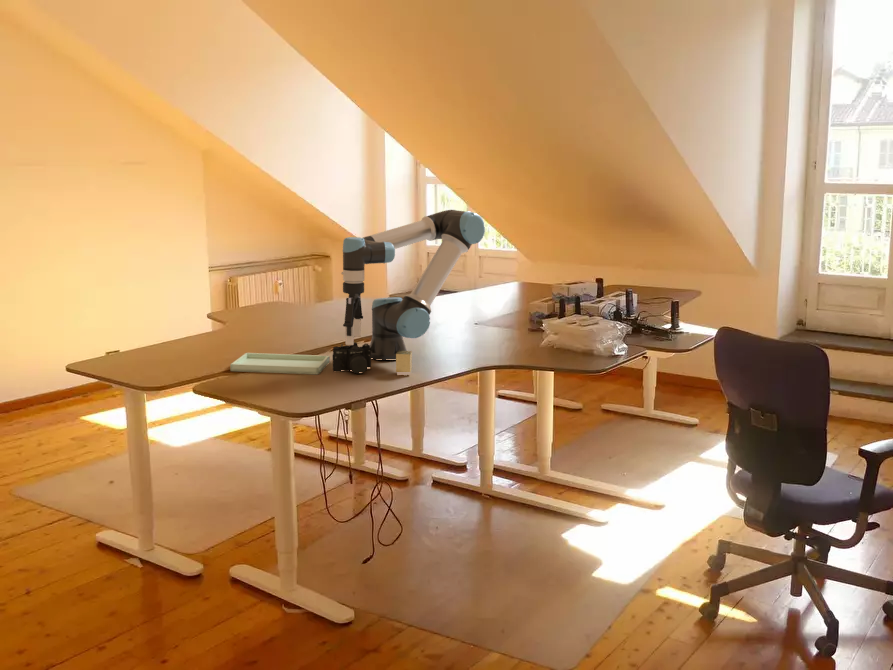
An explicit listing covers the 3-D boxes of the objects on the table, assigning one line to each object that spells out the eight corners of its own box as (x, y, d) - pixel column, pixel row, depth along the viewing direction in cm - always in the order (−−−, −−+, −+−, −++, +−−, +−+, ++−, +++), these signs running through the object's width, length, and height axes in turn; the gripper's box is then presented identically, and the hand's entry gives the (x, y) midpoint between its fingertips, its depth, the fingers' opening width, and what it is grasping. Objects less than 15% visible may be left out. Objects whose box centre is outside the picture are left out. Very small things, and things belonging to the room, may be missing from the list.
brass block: (398, 372, 318) (398, 350, 316) (411, 372, 318) (411, 351, 316) (396, 375, 313) (396, 353, 312) (410, 376, 313) (410, 354, 311)
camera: (336, 376, 311) (336, 349, 309) (331, 369, 321) (331, 342, 319) (375, 374, 315) (375, 347, 313) (369, 367, 325) (369, 340, 323)
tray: (246, 359, 334) (246, 352, 333) (329, 362, 331) (329, 355, 330) (230, 371, 316) (230, 364, 315) (318, 374, 313) (318, 367, 313)
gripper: (350, 276, 323) (349, 333, 327) (335, 286, 298) (335, 347, 303) (370, 277, 322) (369, 334, 326) (357, 287, 298) (357, 348, 302)
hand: (353, 340), depth 314 cm, fingers open, 13 cm apart
